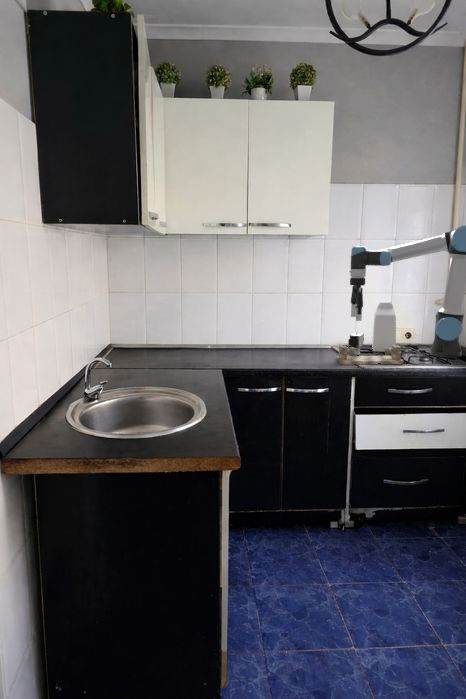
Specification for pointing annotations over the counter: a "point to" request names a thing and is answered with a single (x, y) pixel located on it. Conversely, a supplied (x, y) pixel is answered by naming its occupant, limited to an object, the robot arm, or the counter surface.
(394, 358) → the pipe stand
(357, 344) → the pneumatic valve
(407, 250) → the robot arm
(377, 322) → the milk
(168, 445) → the counter surface
